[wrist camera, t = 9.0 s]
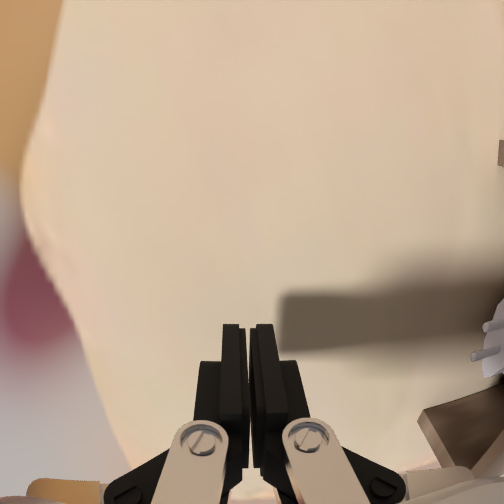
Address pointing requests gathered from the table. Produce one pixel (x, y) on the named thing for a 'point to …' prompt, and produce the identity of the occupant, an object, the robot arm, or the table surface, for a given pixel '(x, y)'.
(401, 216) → the table surface
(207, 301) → the table surface
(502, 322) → the charger
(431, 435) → the grey-brown block
